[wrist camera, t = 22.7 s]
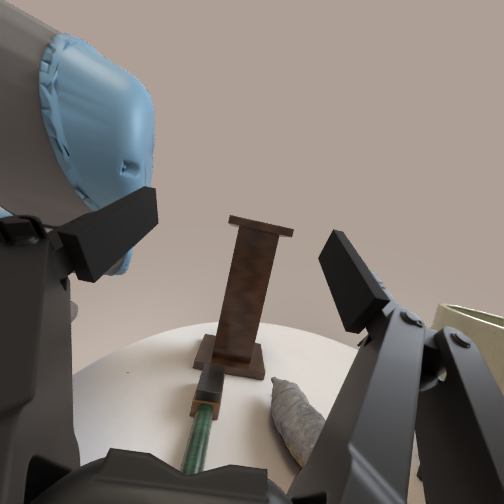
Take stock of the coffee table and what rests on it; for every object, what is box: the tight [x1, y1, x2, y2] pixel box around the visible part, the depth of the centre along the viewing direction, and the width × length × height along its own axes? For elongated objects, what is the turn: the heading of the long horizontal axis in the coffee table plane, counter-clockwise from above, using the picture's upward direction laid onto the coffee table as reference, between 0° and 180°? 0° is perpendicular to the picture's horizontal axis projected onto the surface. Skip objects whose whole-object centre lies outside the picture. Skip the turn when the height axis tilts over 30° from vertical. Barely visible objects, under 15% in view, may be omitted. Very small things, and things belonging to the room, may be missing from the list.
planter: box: [417, 303, 504, 481], centre depth 26 cm, size 15×16×23 cm
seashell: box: [271, 377, 326, 467], centre depth 27 cm, size 6×14×8 cm, turn 23°
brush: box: [180, 363, 225, 475], centre depth 23 cm, size 21×4×4 cm, turn 3°
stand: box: [193, 215, 294, 380], centre depth 40 cm, size 14×10×30 cm
